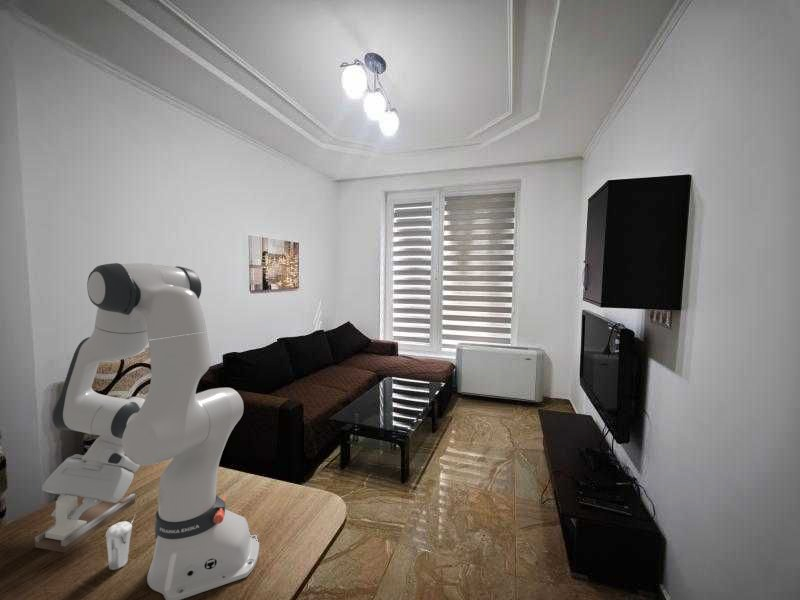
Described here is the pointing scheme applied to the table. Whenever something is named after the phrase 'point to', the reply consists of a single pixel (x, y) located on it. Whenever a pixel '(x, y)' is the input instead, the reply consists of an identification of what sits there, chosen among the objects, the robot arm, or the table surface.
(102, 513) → the fader track
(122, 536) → the milkshake
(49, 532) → the fader tab
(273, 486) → the table surface
